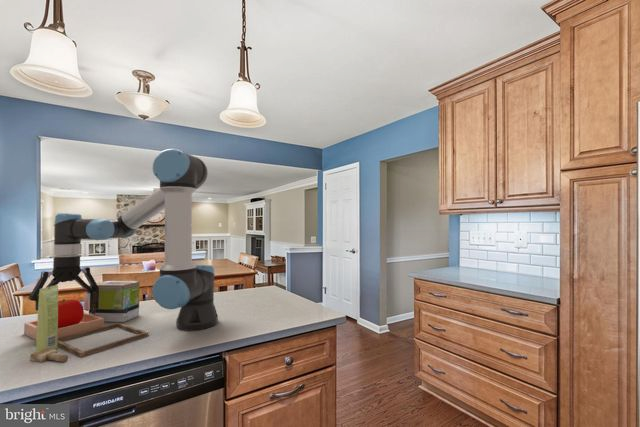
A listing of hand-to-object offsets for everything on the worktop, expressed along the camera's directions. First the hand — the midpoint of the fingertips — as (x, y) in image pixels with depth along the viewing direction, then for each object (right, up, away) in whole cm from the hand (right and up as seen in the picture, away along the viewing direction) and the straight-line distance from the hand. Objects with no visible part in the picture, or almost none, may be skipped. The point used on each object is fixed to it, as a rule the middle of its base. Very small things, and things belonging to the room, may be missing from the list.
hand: (65, 314), depth 110 cm
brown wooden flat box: (0, -6, 0) cm, 6 cm away
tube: (+8, -6, -16) cm, 19 cm away
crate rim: (+19, -6, -8) cm, 21 cm away
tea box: (+8, -7, +15) cm, 18 cm away
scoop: (+15, -5, -23) cm, 27 cm away
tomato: (0, -5, 0) cm, 5 cm away
